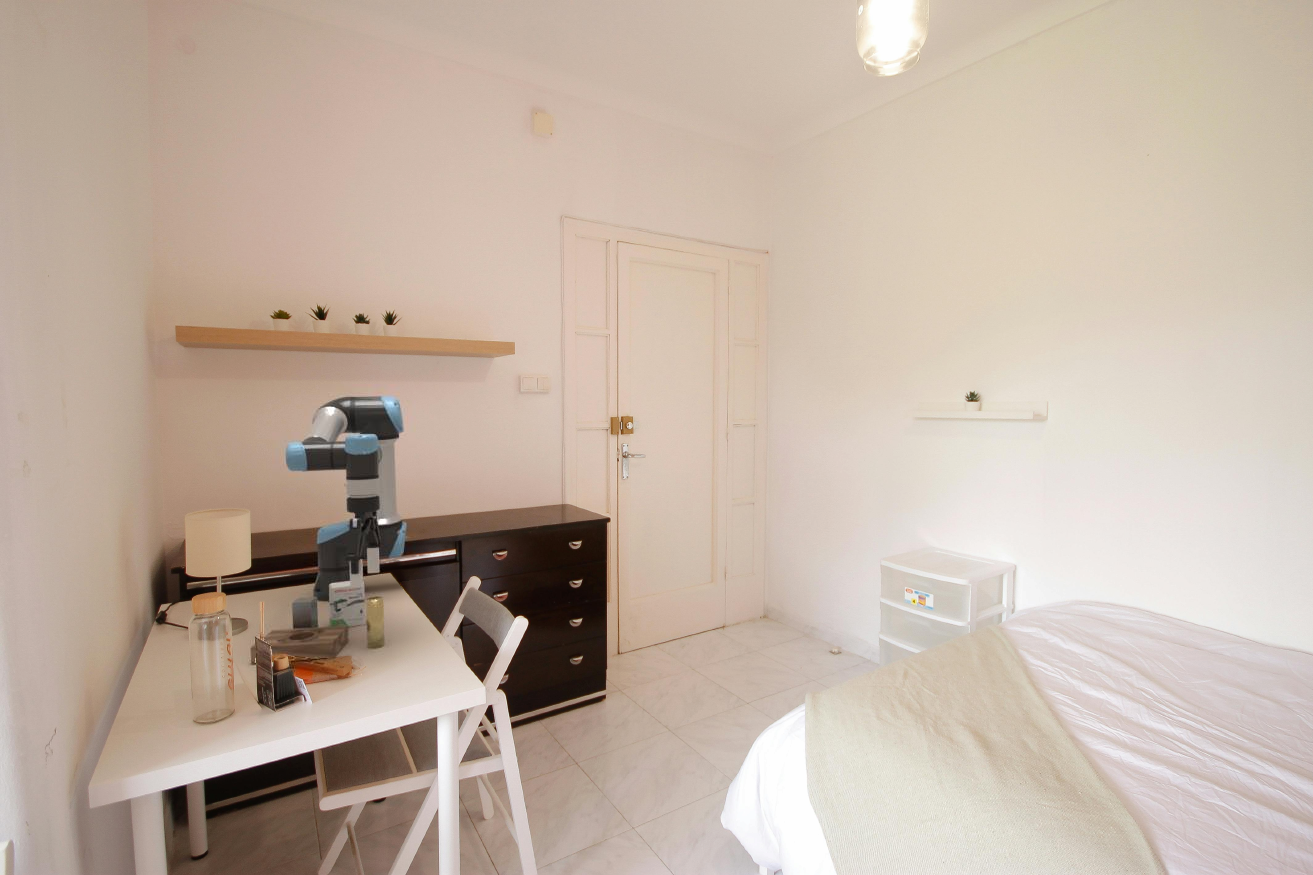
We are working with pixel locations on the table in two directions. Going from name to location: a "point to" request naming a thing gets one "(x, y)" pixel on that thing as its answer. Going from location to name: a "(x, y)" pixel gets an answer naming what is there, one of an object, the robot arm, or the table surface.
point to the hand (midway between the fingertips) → (365, 579)
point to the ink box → (346, 604)
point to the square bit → (305, 613)
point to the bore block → (306, 642)
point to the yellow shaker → (375, 622)
